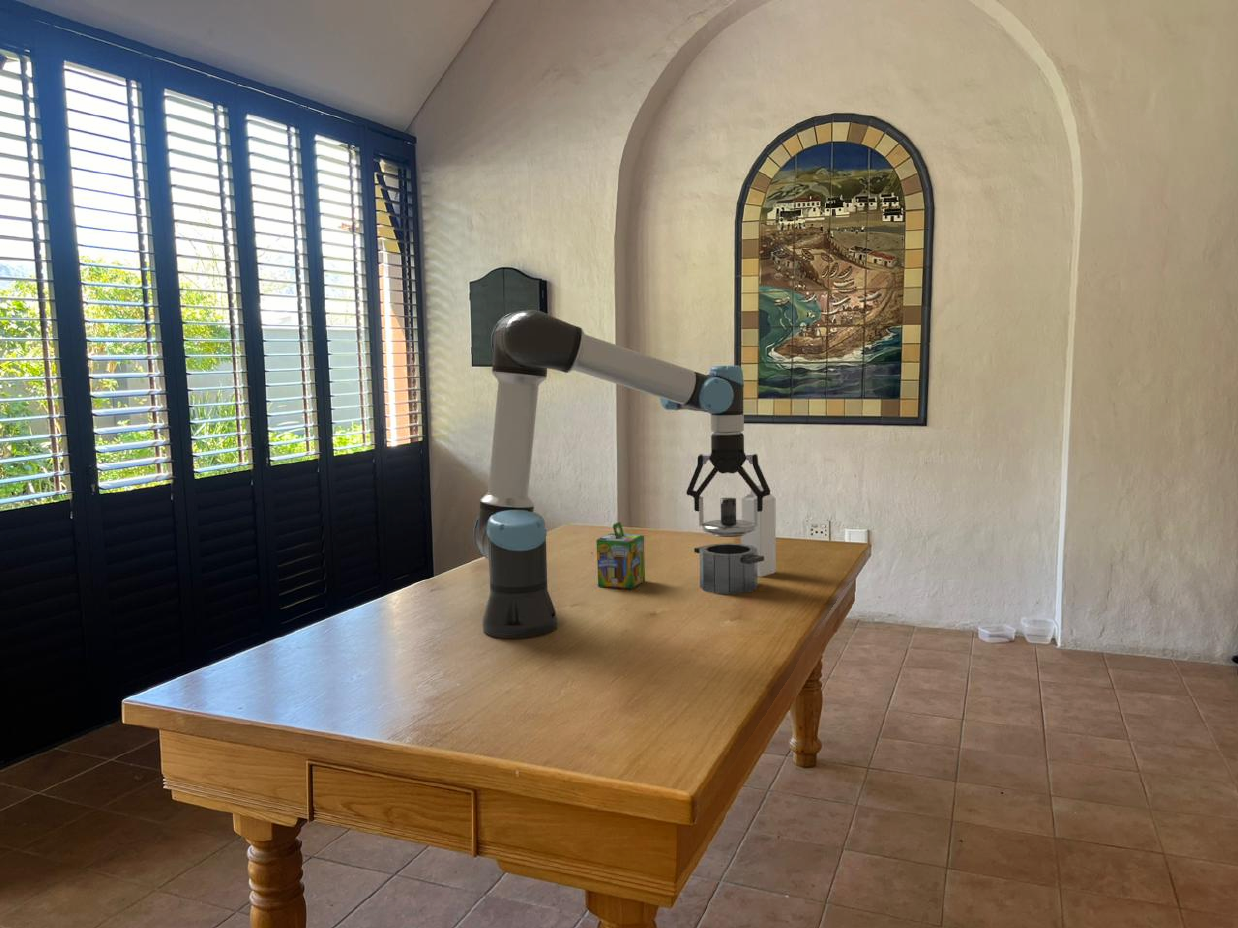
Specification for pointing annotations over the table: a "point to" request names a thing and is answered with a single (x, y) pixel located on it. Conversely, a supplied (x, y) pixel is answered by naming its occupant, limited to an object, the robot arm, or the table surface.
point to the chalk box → (620, 559)
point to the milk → (762, 531)
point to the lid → (728, 522)
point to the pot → (728, 568)
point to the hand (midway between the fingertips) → (728, 525)
